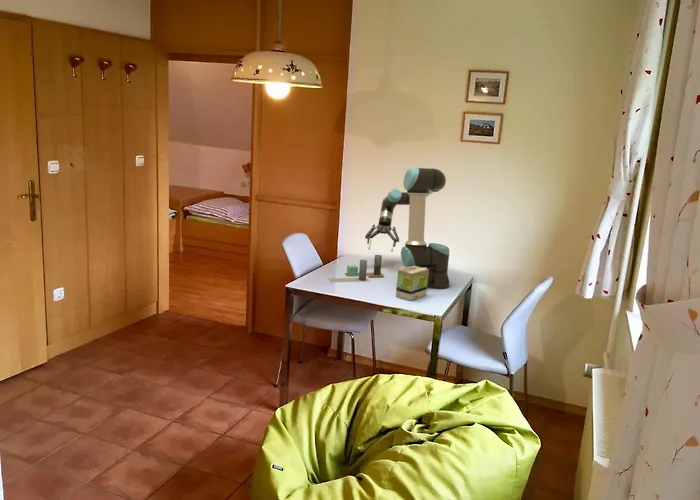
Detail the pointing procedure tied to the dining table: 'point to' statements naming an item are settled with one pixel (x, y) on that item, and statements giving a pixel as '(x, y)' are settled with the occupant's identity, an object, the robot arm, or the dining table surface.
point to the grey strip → (361, 278)
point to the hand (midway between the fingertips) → (380, 249)
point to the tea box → (412, 282)
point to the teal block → (352, 270)
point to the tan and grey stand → (376, 269)
